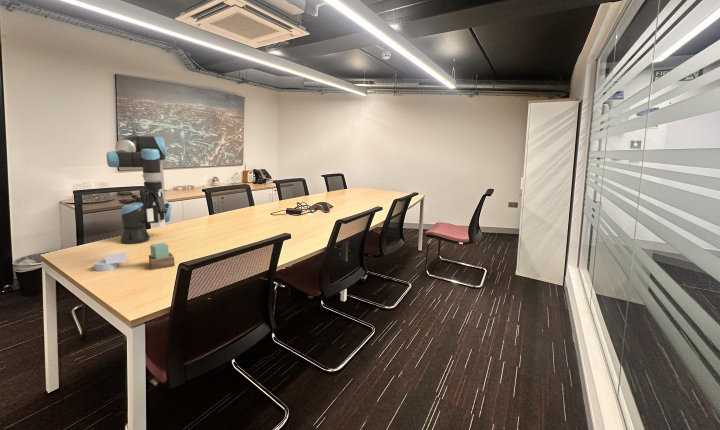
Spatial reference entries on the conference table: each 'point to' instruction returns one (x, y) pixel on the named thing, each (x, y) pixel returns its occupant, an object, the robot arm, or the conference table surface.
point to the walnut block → (161, 262)
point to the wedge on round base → (110, 262)
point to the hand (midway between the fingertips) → (156, 223)
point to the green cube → (159, 250)
